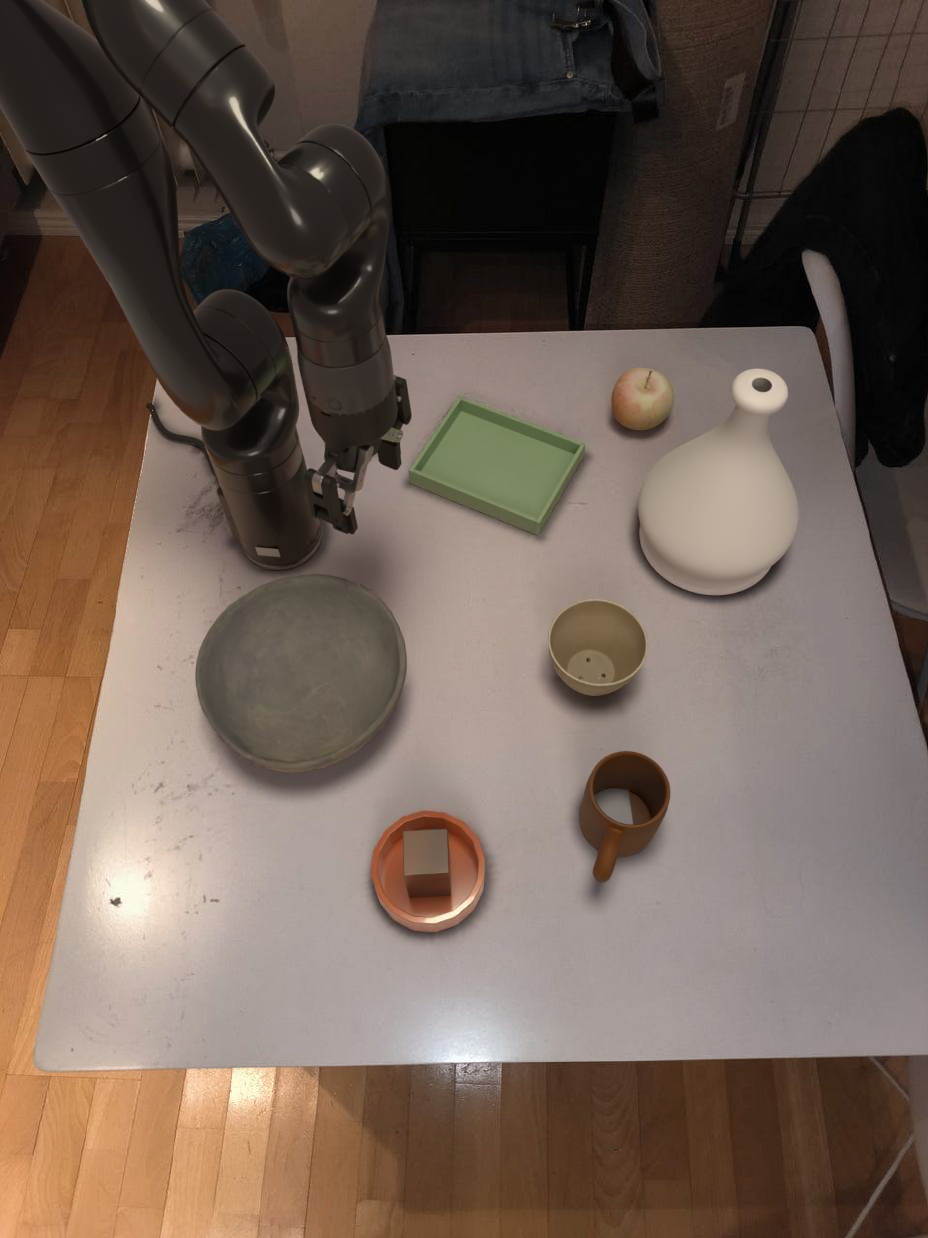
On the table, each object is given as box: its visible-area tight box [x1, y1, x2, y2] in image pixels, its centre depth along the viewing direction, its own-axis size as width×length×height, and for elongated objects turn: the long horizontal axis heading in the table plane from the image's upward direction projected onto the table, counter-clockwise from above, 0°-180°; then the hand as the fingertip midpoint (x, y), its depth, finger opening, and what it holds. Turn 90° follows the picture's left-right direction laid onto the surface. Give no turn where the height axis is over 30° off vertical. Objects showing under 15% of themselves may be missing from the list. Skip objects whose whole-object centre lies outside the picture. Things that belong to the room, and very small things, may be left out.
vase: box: [637, 368, 800, 596], centre depth 101 cm, size 17×17×25 cm
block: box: [403, 829, 452, 898], centre depth 89 cm, size 4×4×8 cm
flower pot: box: [547, 598, 649, 697], centre depth 100 cm, size 10×10×7 cm
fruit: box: [610, 367, 675, 431], centre depth 117 cm, size 8×7×8 cm
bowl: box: [194, 573, 408, 773], centre depth 99 cm, size 21×21×8 cm
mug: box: [579, 750, 671, 883], centre depth 90 cm, size 12×8×9 cm, turn 159°
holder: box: [370, 810, 486, 933], centre depth 91 cm, size 10×10×4 cm
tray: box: [408, 395, 586, 536], centre depth 116 cm, size 17×13×2 cm
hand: (368, 496), depth 93 cm, fingers open, 8 cm apart
